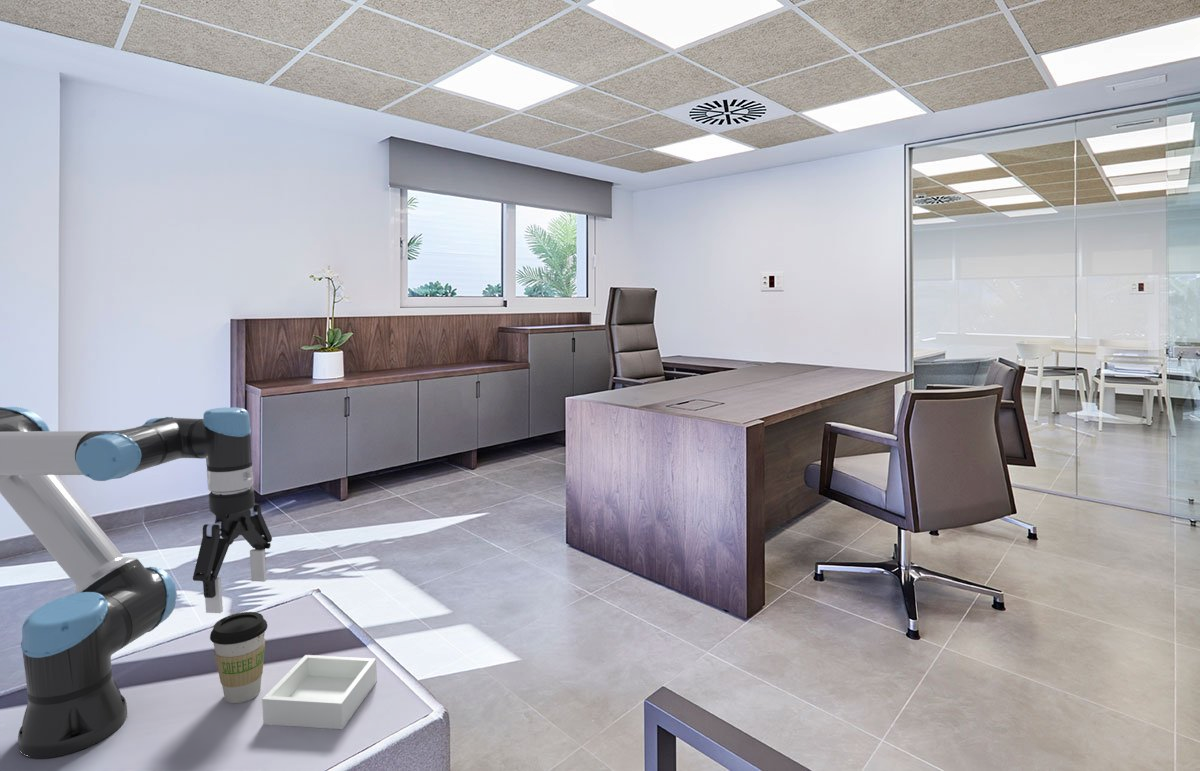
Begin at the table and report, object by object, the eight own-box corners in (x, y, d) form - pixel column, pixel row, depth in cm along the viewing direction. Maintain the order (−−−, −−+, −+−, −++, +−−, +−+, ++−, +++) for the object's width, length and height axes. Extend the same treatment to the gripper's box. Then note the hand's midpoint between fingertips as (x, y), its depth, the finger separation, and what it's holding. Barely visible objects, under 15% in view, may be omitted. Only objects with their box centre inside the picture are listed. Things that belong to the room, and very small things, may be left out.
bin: (263, 724, 117) (262, 698, 116) (306, 677, 132) (305, 654, 131) (342, 729, 116) (341, 703, 115) (376, 681, 131) (376, 658, 130)
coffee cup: (246, 712, 120) (241, 637, 119) (201, 705, 122) (196, 631, 120) (281, 682, 130) (278, 613, 128) (239, 676, 132) (235, 608, 130)
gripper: (205, 510, 108) (213, 628, 111) (287, 473, 133) (291, 570, 136) (163, 509, 109) (172, 626, 111) (252, 472, 134) (258, 568, 136)
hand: (237, 595), depth 124 cm, fingers open, 13 cm apart
